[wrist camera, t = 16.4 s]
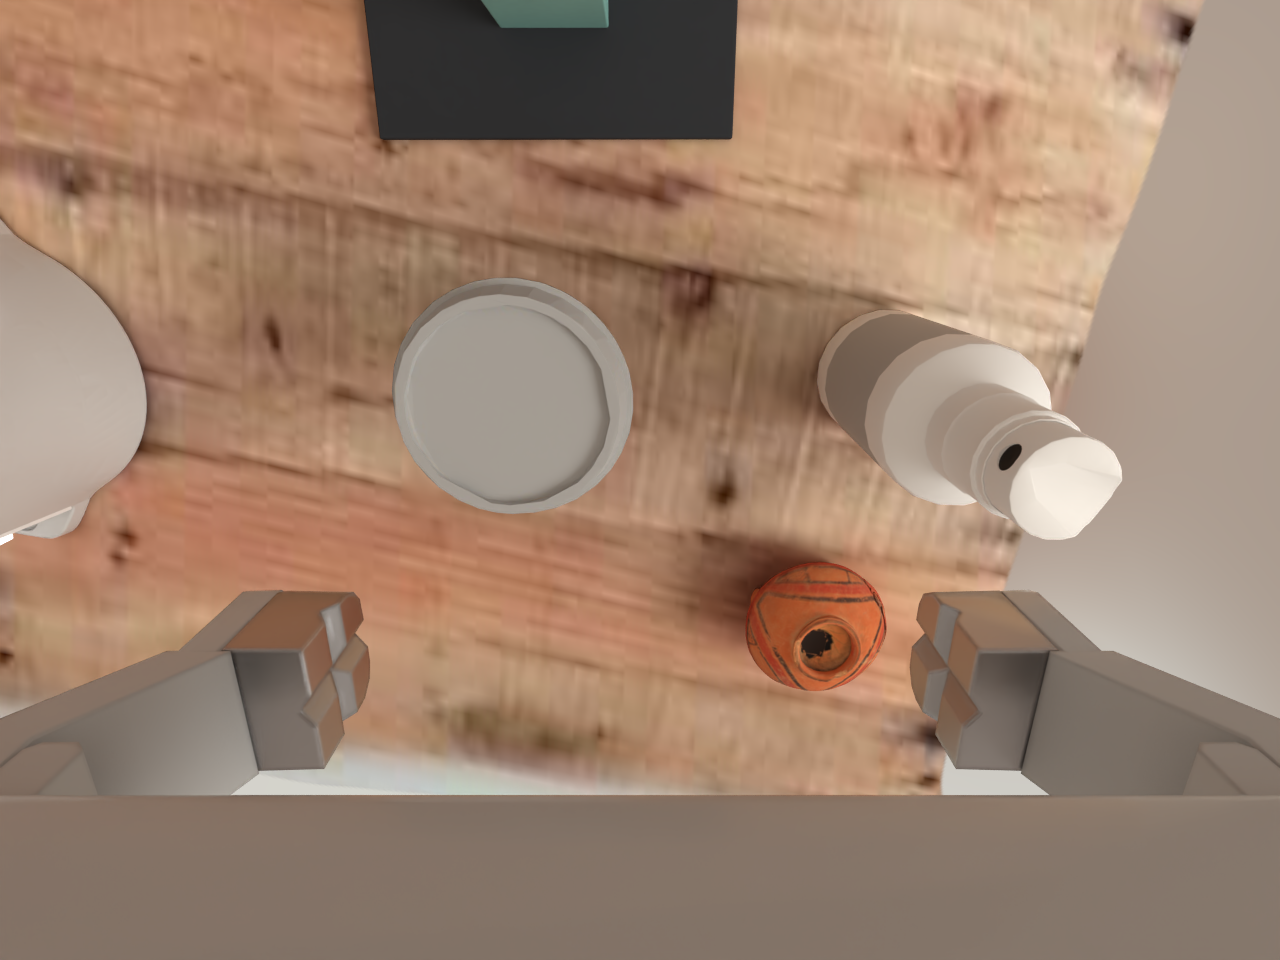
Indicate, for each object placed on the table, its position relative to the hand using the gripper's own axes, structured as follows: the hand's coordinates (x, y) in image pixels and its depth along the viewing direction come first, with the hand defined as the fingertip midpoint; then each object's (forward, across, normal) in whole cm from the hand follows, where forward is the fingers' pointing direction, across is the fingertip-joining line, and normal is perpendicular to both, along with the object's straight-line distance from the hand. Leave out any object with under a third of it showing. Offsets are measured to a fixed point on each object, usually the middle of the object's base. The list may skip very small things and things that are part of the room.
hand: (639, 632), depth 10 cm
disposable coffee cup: (+29, -5, -1) cm, 30 cm away
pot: (+29, +10, -16) cm, 35 cm away
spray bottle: (+29, +13, -2) cm, 32 cm away
